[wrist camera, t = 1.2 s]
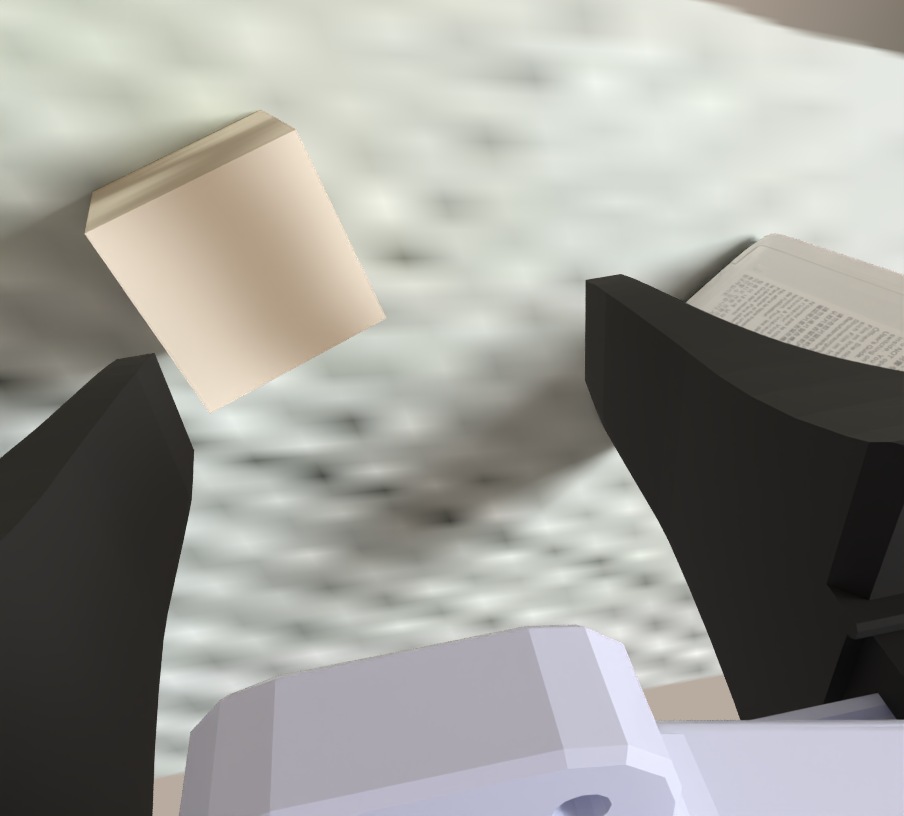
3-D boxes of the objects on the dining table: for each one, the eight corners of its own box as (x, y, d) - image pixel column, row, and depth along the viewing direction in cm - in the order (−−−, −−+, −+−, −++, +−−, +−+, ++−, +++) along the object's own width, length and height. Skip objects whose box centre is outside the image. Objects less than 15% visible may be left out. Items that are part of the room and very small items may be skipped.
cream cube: (193, 342, 22) (210, 413, 18) (92, 190, 20) (84, 233, 15) (339, 266, 23) (386, 318, 19) (260, 109, 20) (296, 129, 16)
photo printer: (622, 455, 31) (867, 665, 21) (573, 393, 29) (824, 596, 18) (803, 288, 31) (1142, 417, 21) (770, 212, 28) (1134, 314, 18)
